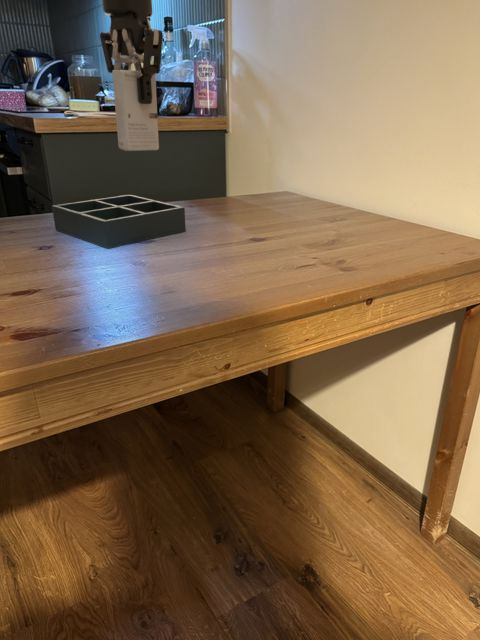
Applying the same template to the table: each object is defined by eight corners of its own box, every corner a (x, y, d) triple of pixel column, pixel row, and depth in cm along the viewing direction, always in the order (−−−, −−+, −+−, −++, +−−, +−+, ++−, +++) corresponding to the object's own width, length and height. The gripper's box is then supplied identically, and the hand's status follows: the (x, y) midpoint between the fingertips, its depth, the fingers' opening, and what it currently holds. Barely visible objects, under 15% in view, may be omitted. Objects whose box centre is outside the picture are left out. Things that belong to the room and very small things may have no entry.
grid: (55, 230, 95) (51, 205, 93) (132, 216, 106) (130, 194, 104) (107, 248, 85) (104, 221, 83) (185, 231, 96) (184, 207, 94)
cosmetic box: (127, 151, 84) (120, 69, 78) (117, 148, 87) (110, 69, 81) (161, 150, 87) (156, 71, 81) (150, 147, 90) (145, 71, 85)
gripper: (78, -21, 78) (92, 101, 85) (132, -32, 69) (143, 104, 77) (119, -13, 83) (129, 102, 90) (174, -22, 74) (180, 104, 82)
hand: (135, 102), depth 84 cm, fingers closed on cosmetic box, 4 cm apart
